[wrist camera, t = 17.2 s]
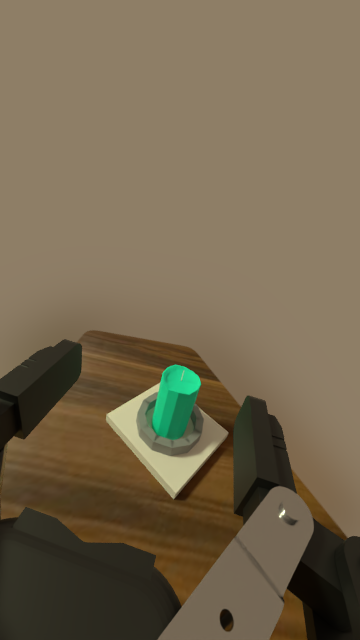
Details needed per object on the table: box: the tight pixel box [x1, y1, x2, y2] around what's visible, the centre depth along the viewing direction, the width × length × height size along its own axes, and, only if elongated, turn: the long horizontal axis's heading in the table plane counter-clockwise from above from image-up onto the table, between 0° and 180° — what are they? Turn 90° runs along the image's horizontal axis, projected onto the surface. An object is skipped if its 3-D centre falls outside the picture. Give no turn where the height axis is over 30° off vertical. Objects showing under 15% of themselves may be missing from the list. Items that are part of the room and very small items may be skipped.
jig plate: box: [106, 383, 229, 499], centre depth 40 cm, size 16×14×4 cm
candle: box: [152, 365, 201, 440], centre depth 38 cm, size 6×6×12 cm
